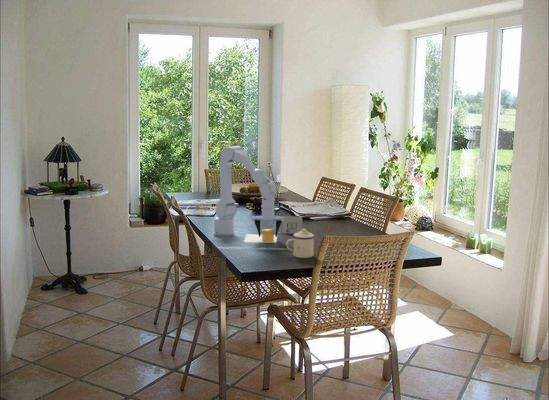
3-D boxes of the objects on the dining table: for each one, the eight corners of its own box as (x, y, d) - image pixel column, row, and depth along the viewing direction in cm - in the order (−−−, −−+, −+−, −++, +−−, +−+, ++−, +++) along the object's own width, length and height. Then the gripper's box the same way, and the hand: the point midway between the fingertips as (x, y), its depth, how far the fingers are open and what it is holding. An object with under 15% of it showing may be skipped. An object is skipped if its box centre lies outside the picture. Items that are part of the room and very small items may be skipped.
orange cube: (261, 241, 276) (262, 231, 275) (262, 239, 281) (262, 228, 280) (273, 241, 276) (273, 231, 275) (273, 239, 281) (273, 228, 280)
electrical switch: (282, 235, 294) (282, 216, 293) (284, 233, 299) (284, 215, 299) (301, 236, 292) (301, 217, 292) (302, 235, 297) (303, 216, 297)
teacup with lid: (312, 252, 261) (312, 226, 259) (315, 258, 252) (316, 231, 251) (284, 253, 260) (285, 226, 258) (287, 258, 251) (287, 231, 249)
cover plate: (243, 244, 275) (243, 235, 275) (246, 236, 291) (246, 228, 290) (276, 244, 275) (276, 236, 274) (277, 236, 290) (277, 228, 290)
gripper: (251, 208, 272) (251, 237, 275) (283, 209, 272) (283, 238, 274) (253, 206, 279) (252, 234, 281) (284, 206, 279) (283, 235, 281)
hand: (268, 236), depth 278 cm, fingers open, 7 cm apart
